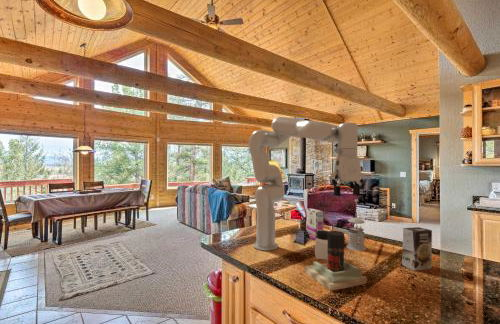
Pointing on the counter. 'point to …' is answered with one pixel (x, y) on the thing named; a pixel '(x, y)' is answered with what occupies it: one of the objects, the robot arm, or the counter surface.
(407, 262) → the coffee box
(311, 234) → the candy bar box
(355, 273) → the dock
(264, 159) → the robot arm
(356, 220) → the french press
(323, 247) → the medicine bottle
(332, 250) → the deodorant
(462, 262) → the counter surface
